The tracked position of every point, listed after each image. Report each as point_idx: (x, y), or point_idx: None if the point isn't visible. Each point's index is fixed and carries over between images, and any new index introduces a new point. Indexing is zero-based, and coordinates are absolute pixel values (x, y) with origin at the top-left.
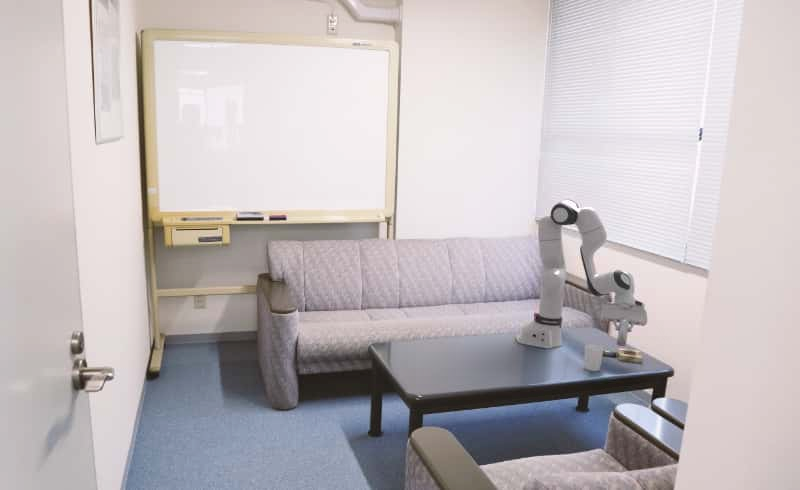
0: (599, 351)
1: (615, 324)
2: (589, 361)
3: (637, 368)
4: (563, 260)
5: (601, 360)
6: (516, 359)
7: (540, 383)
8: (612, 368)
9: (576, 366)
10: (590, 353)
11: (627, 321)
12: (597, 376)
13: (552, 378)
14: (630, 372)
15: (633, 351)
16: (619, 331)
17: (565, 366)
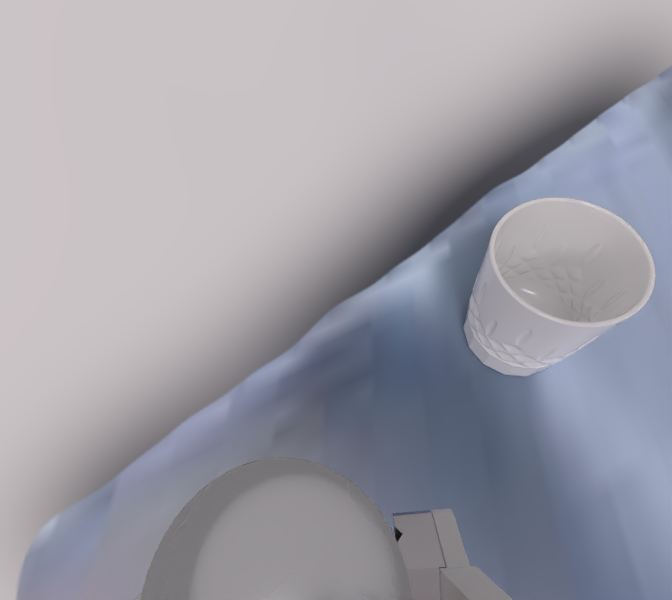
0: (509, 214)
1: (485, 577)
2: (542, 261)
3: None
4: None
5: (472, 291)
6: None
7: (662, 79)
8: (392, 392)
9: None
10: (564, 221)
11: (214, 484)
12: (459, 238)
13: (644, 135)
14: (286, 373)
15: None
16: (379, 510)
17: (661, 295)
